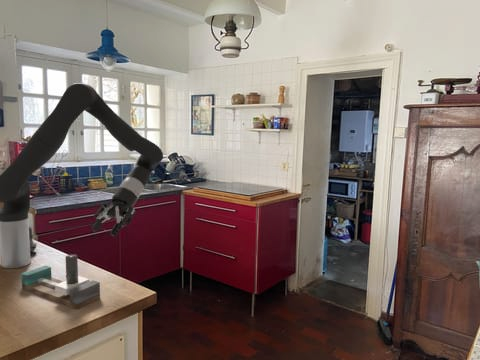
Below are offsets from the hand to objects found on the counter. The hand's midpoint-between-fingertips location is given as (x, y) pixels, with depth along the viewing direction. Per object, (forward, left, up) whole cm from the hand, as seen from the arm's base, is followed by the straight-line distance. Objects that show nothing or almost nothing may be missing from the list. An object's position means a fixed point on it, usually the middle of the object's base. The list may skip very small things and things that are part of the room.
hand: (102, 232), depth 117 cm
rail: (-6, -12, -17) cm, 22 cm away
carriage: (0, -12, -14) cm, 18 cm away
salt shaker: (-48, +4, -18) cm, 51 cm away
